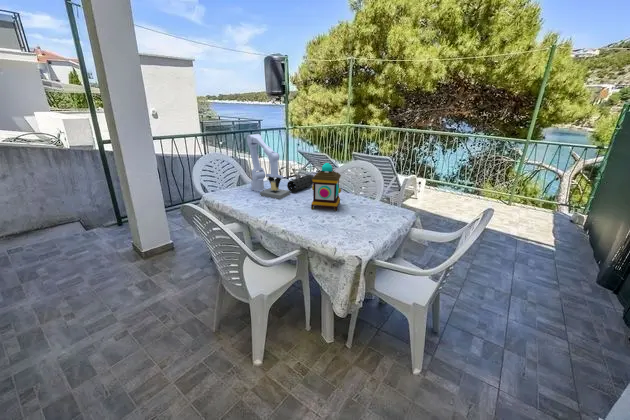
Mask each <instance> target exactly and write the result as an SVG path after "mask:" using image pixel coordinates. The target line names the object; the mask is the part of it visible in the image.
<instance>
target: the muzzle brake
mask: <svg viewBox="0 0 630 420" xmlns="http://www.w3.org/2000/svg"><path fill="white" fill-rule="evenodd" d="M314 176H315V175H312V174H305V175H303V176H301V177H298V178H296V179H295V178H294V179H292V180H289V181H288V182H287V184H286V187H287V189H288V191H290V193H291V194H292V193H296V192H298V191H300V190H301V191H302V189H307V188H308V187H310V186H313V181H312V178H313V177H314Z"/></svg>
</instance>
